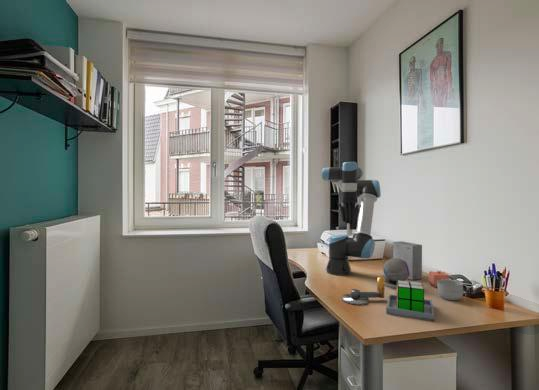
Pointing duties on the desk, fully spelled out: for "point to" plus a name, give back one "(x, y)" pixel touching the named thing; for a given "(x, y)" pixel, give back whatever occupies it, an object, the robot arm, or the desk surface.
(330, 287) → the desk surface
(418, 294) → the puzzle cube
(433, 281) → the pink cube teapot
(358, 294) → the crank lever
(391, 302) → the tray
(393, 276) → the webcam
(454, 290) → the teacup
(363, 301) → the crank base
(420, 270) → the hard drive box
